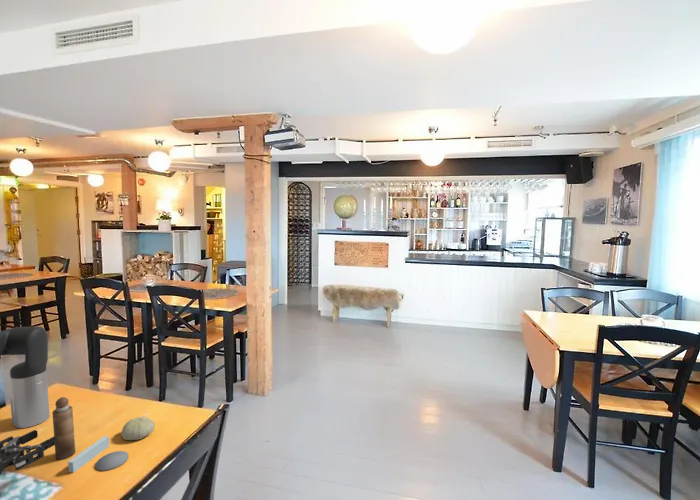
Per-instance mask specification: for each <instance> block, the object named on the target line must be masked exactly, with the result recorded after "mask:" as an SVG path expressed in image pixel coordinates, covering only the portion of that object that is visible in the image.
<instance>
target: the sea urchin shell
mask: <svg viewBox="0 0 700 500" xmlns="http://www.w3.org/2000/svg"><path fill="white" fill-rule="evenodd" d="M155 425H156V424H155V422H154V421H153V420H152V419H151V418H149V417H147V416H139V417H138V416H137V417H134V418H131V419H129V420H128V421H127V422H126V423H125V424H124V425H123V427H122V430H121V437H122V439H124V440H126V441H137V440H141V439H142V440H143V438H145V437H147V436H149V435H150V434H152V432H153V431H154V430H155V427H156V426H155Z"/></svg>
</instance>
